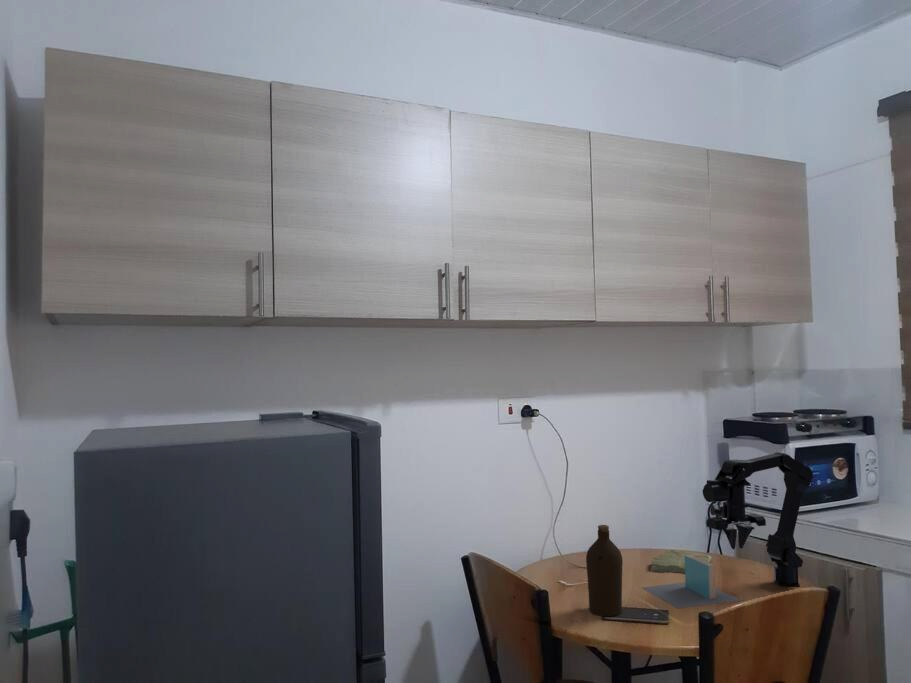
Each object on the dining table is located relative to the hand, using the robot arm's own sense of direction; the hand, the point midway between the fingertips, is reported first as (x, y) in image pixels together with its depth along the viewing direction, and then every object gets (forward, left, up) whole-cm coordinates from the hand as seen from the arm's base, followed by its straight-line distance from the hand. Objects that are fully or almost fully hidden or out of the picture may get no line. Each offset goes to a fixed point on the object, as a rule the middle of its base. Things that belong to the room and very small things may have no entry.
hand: (736, 548), depth 219 cm
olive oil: (+41, +27, -13) cm, 51 cm away
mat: (+16, +9, -13) cm, 22 cm away
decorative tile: (+15, -23, -14) cm, 31 cm away
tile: (+12, +7, -12) cm, 19 cm away
